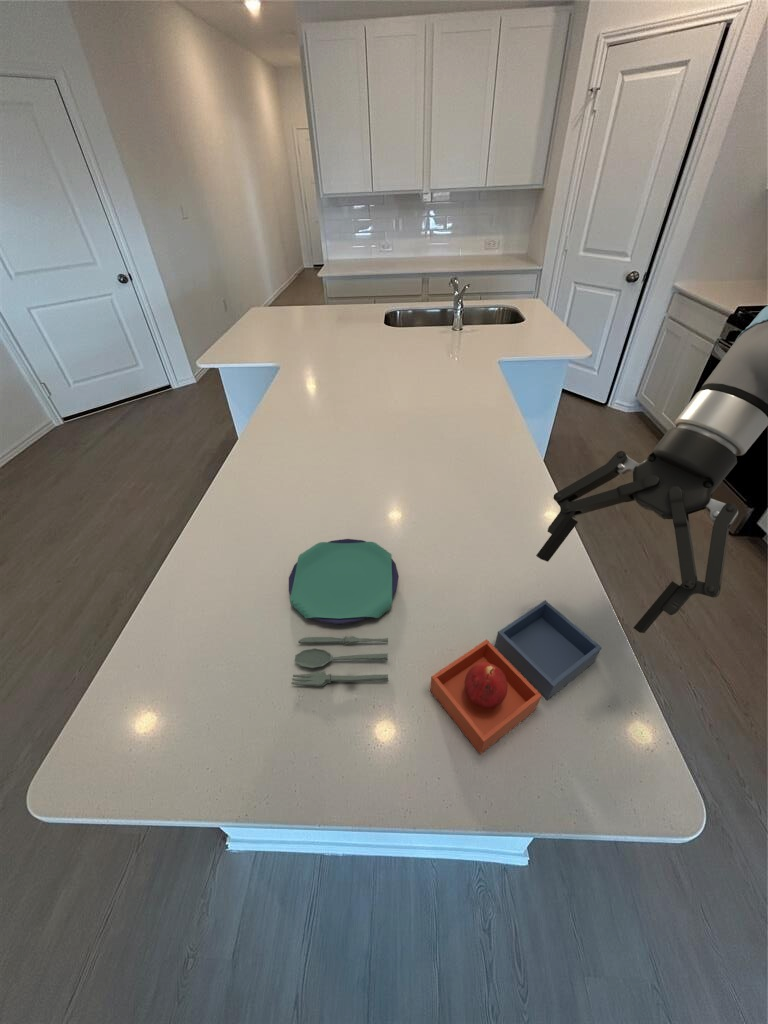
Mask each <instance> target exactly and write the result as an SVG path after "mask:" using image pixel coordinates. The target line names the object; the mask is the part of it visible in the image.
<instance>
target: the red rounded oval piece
mask: <svg viewBox="0 0 768 1024" xmlns="http://www.w3.org/2000/svg"><path fill="white" fill-rule="evenodd" d="M464 683H465V691H466V694H467V696H468V697H469V699H470V700H471V701H472V702H473V703H474V704H475V705H476V706H478V707H481V708H484V709H488V708H495V707H496V706H498V705H499V704H500V703H502V702H503V700H504V698H505V697H506V695H507V686H508V684H507V680H506V676H505V674H504V673H503V672H502V671H501V670H500V668H498V667H496V666H495V665H493V664H490V663H479V664H477V665H475V666H473V667H471V669H470V670H469V671H468V673H467V674H466V678H465V682H464Z"/></svg>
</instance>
